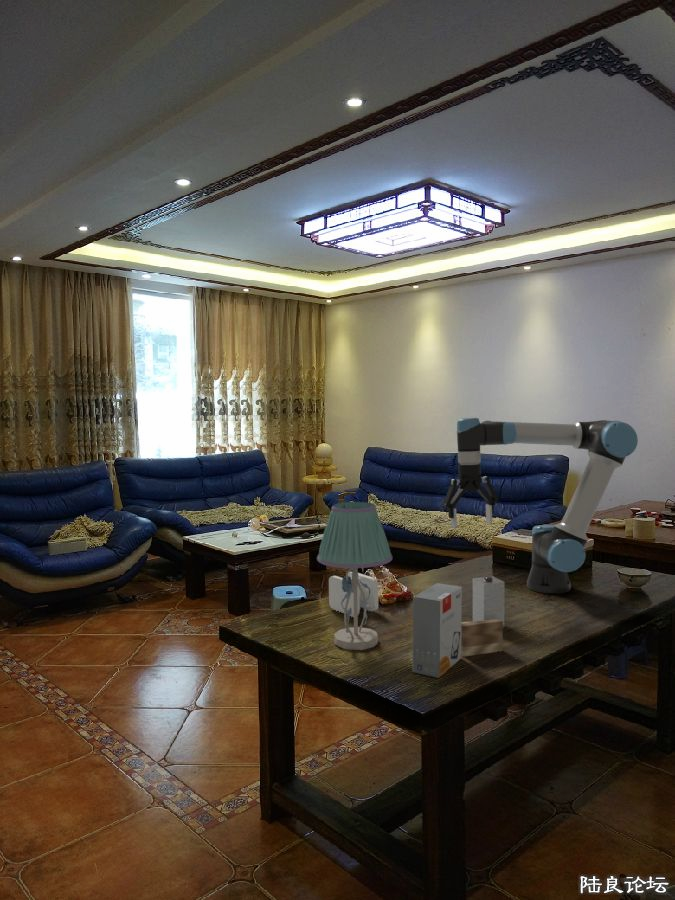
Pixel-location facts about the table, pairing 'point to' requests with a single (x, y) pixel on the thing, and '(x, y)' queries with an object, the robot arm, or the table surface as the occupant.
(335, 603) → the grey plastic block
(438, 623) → the hard drive box
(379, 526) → the table lamp
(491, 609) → the block
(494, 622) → the dock
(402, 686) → the table surface
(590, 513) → the robot arm
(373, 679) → the table surface
